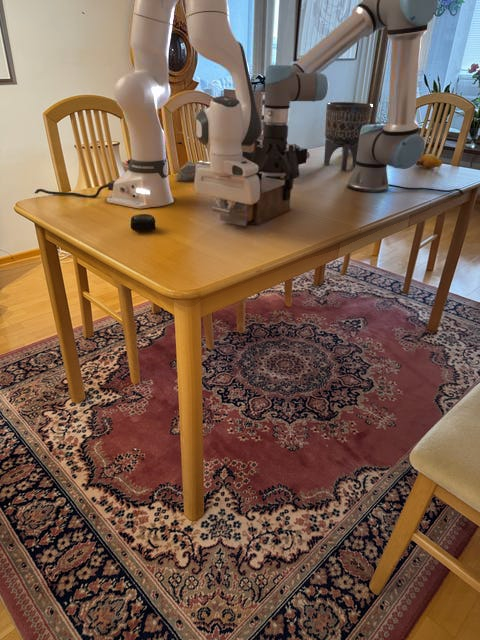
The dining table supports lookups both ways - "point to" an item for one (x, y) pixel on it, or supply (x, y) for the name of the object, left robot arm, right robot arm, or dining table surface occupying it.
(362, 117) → the planter
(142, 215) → the tape measure
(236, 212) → the drawer
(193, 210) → the dining table surface
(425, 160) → the toy
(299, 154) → the mechanical component
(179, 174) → the rock
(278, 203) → the cabinet
